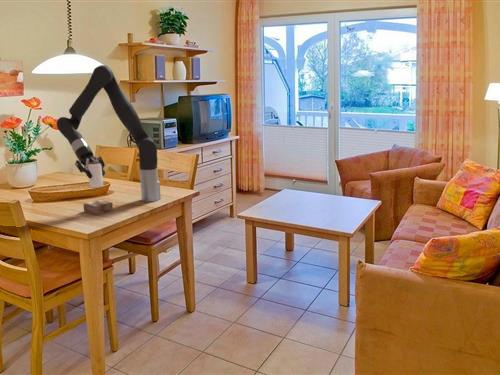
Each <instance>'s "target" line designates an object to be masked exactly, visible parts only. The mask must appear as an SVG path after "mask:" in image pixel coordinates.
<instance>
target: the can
mask: <svg viewBox="0 0 500 375" xmlns="http://www.w3.org/2000/svg"><path fill="white" fill-rule="evenodd" d="M88 170H89V171H90V173H91V174H92V178H88V184H89V188H90V189H98V188H99V189H100V188H102V187H103V186H104V176H102V166H101V164H100V162H90V163H88Z"/></svg>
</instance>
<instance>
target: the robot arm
mask: <svg viewBox="0 0 500 375" xmlns="http://www.w3.org/2000/svg"><path fill="white" fill-rule="evenodd" d="M102 89H103V90H104V91H105V93H106V95H107V96H108V98H109V100H110V103H111V107H112V109H113V110H114V113H115V114H116V116H117V118H118V119H119V120H120V122H121V124H122V125H123V126H124V127H125V129H126V130H127V131H128V132H129V134H130V135H131V137H132V138H133V141H134V142H135V144H136V146H137V149H138V158H139V178H140V180H139V181H140V192H141V194H140V195H141V201H142V202H147V203H149V202H156V201H159V200H161V183H160V181H159V176H158V174H159V173H158V148H157V144H156V142H155V141H154V140H153V138H151V136H150V135H149V134H148V132H147V131H146V129H145V127H143V124H142V121H141V119H140V117H139V115H138V113H137V111H136V109H135V108H134V105H132V104H133V103H131V101H130V99H129V98H128V97H127V95H126V94H125V93H124V91H123V90H122V89H121V87H120V84H119V83H118V81H117V78H116V77H115V74H114V72H113V69H111V68H110V67H109V66H107V65H104V64H102V65H98V66H96V67H95V68H94V69H93V71H92V74H91V76H90V79H89V81H88V83H87V84H86V86H85V87H84V89H83V90H82V91H81V93H80V94H79V96H78V97H77V98H76V99H75V101H73V104H72V105H71V107H70V108H69V110H68V114H70V118H68V117H66V116H62V117H59V118H58V119H57V120H56V127H57V129H58V131H59V132H60V134H62V135H63V137H64V138H65V139H66V140H67V141H68V143H69V145H70V147H71V148H72V151H73V152H74V154H75V156H76V158H77V159H76V160H75V163H74V165H75V167H76V168H77V169H78V171H79V172H80V173H84V174H85V175H86V176H87V177H88V179H89V178H92V174H91V173H90V171H89V170H88V163H90V162H100V164H101V166H102V176H103V177H104V176H105V175H106V171H105V170H104V168H105V166H106V164H105V163H104V160H103V158H102V156H98V157H95V156H94V153H93V150H92V149H91V147H90V146H89V144H88V142H86V140H85V138H84V137H83V135H82V134H81V133H80V132H79V131H78V129H79V128H80V124H81V122H82V119H83V116H84V115H85V114H86V112H87V111H88V110H89V109H90V106H91V104H92V103H93V101H94V99H95V98H96V96H97V95H98V93H99V92H100V91H101V90H102Z"/></svg>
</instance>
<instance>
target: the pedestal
mask: <svg viewBox="0 0 500 375" xmlns="http://www.w3.org/2000/svg"><path fill="white" fill-rule="evenodd" d="M113 207H114V206H113V202H111V201H107V200H103V199H98V200H93V201H90V202H85V203H83V212H84V213H88V214H90V215H93V216H98V215H101V214H105V213H109V212H113V211H114V208H113Z"/></svg>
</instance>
